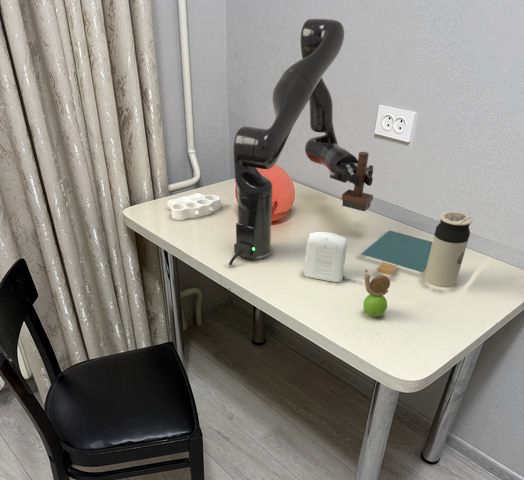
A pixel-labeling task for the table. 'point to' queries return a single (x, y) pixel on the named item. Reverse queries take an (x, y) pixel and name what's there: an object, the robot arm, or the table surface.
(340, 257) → the photo printer
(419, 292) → the table surface
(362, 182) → the brown post on base
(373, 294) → the snail figurine
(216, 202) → the white holed tray
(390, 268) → the orange square block
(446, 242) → the travel mug
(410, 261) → the tile
